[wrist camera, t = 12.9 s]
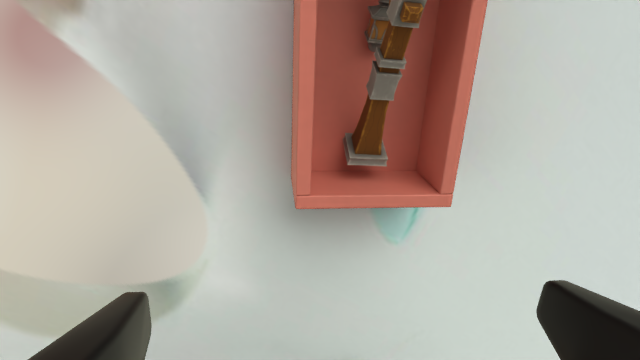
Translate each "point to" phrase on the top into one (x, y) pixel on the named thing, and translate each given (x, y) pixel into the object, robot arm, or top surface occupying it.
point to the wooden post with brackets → (382, 76)
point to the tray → (402, 114)
